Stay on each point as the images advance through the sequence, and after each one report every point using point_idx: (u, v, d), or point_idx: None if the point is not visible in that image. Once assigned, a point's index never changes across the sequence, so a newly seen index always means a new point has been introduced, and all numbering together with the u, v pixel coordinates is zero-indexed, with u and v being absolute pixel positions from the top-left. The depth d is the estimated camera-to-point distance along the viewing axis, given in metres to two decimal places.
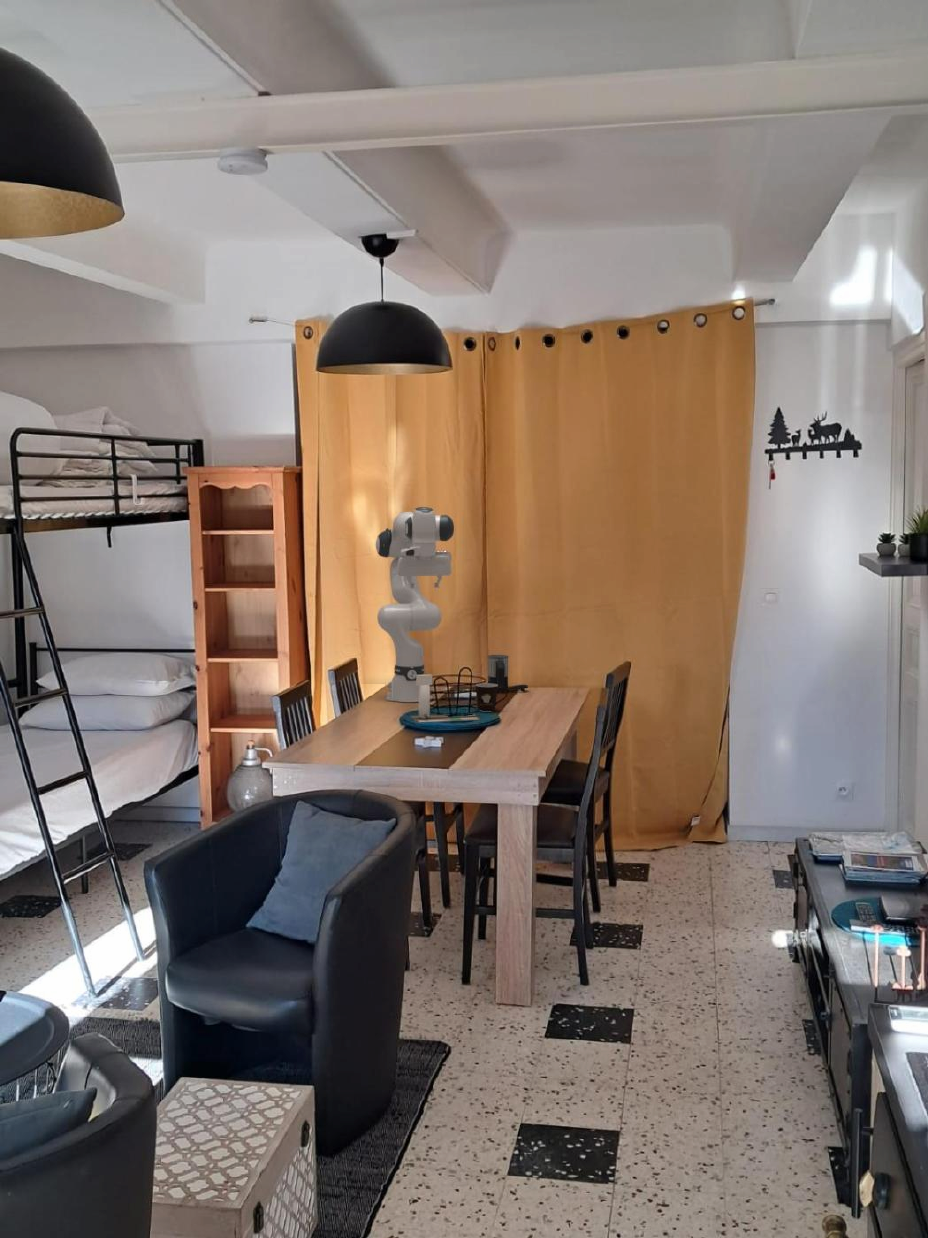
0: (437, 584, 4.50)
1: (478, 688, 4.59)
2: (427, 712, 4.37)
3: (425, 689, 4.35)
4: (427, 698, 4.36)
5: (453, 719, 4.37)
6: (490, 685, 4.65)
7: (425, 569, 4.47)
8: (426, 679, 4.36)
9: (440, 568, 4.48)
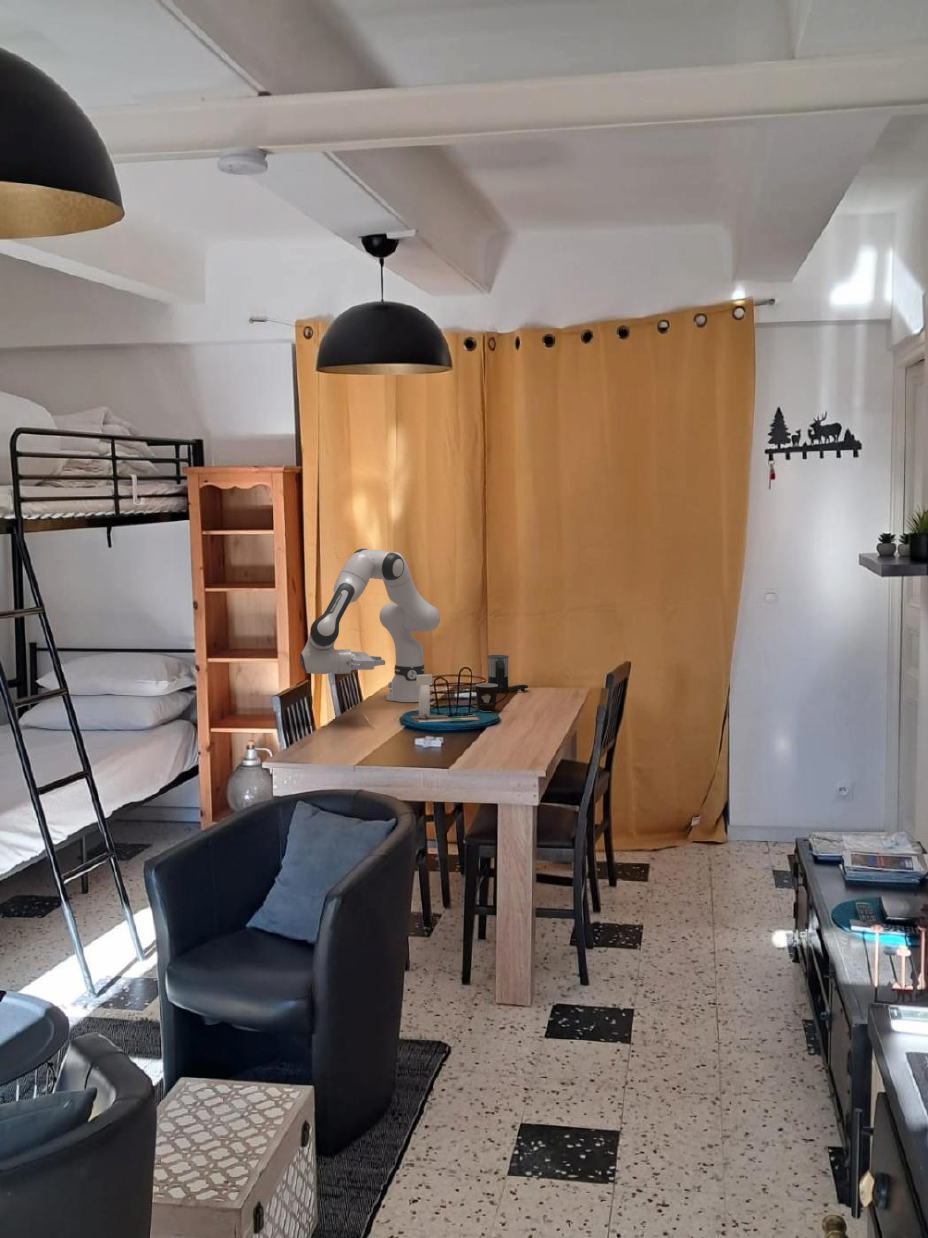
0: None
1: (478, 688, 4.59)
2: (427, 712, 4.37)
3: (425, 689, 4.35)
4: (427, 698, 4.36)
5: (453, 719, 4.37)
6: (490, 685, 4.65)
7: None
8: (426, 679, 4.36)
9: None
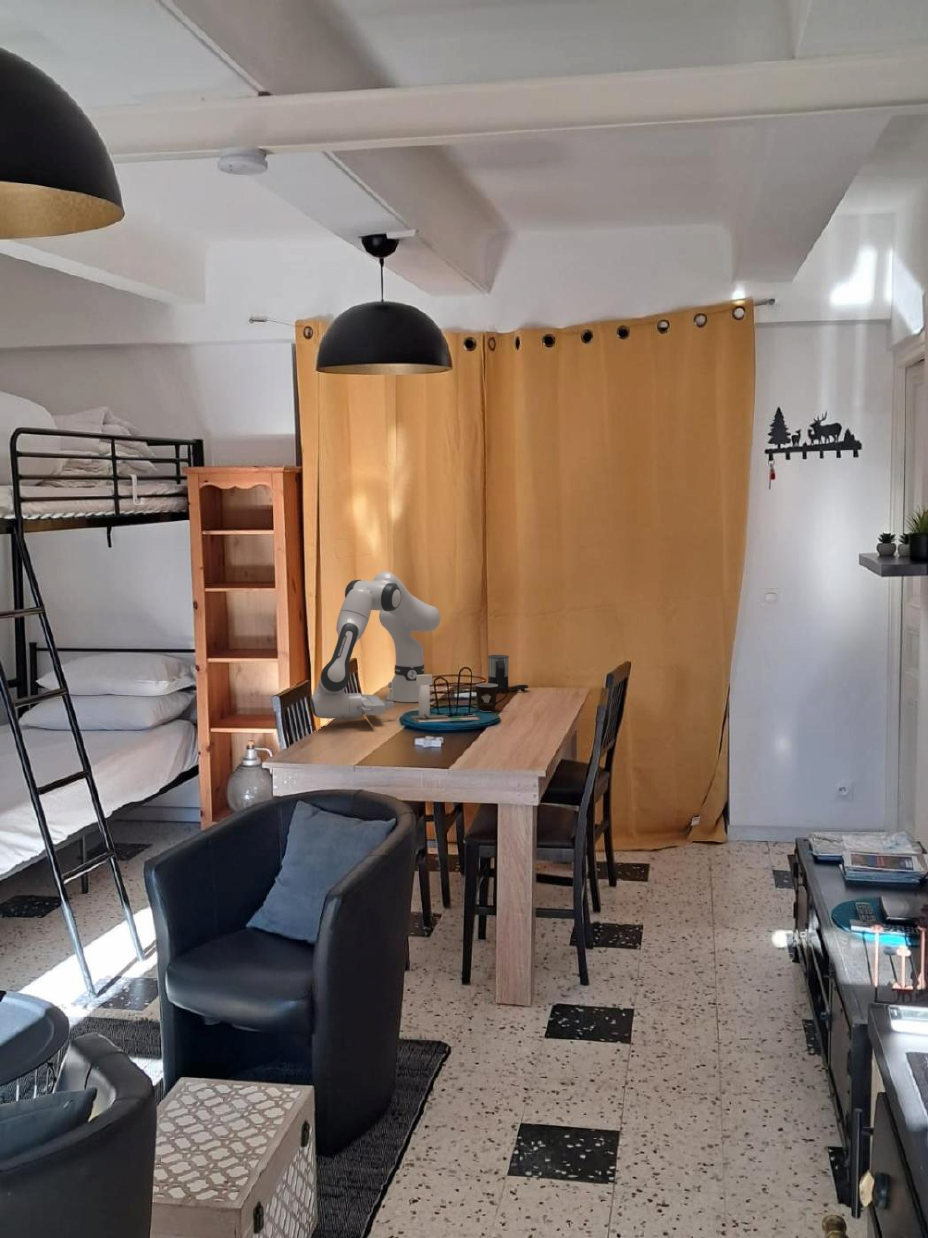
0: None
1: (478, 688, 4.59)
2: (427, 712, 4.37)
3: (425, 689, 4.35)
4: (427, 698, 4.36)
5: (453, 719, 4.37)
6: (490, 685, 4.65)
7: None
8: (426, 679, 4.36)
9: None
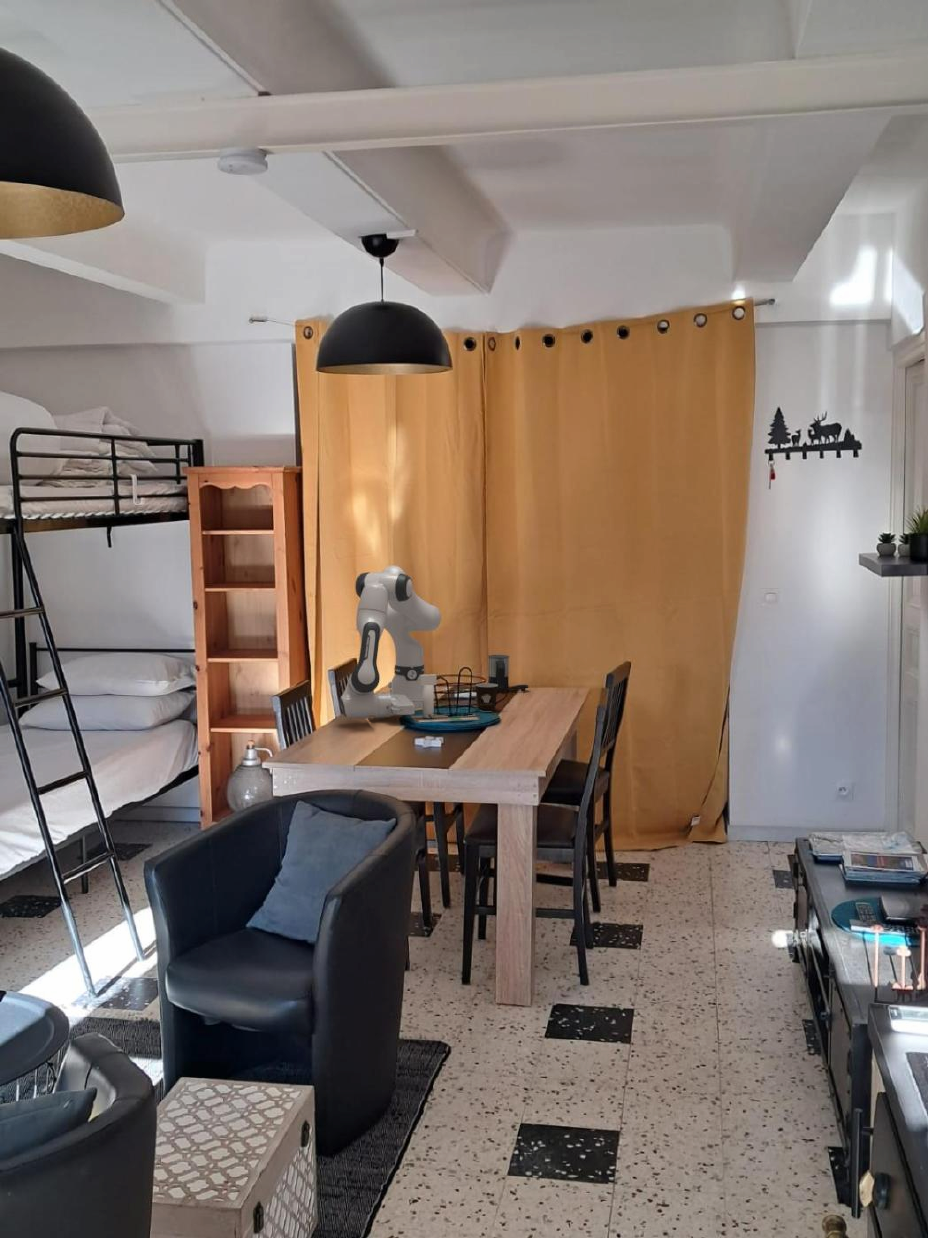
0: None
1: (478, 688, 4.59)
2: (431, 712, 4.37)
3: (429, 689, 4.36)
4: (431, 698, 4.37)
5: (453, 719, 4.37)
6: (490, 685, 4.65)
7: None
8: (430, 679, 4.37)
9: None
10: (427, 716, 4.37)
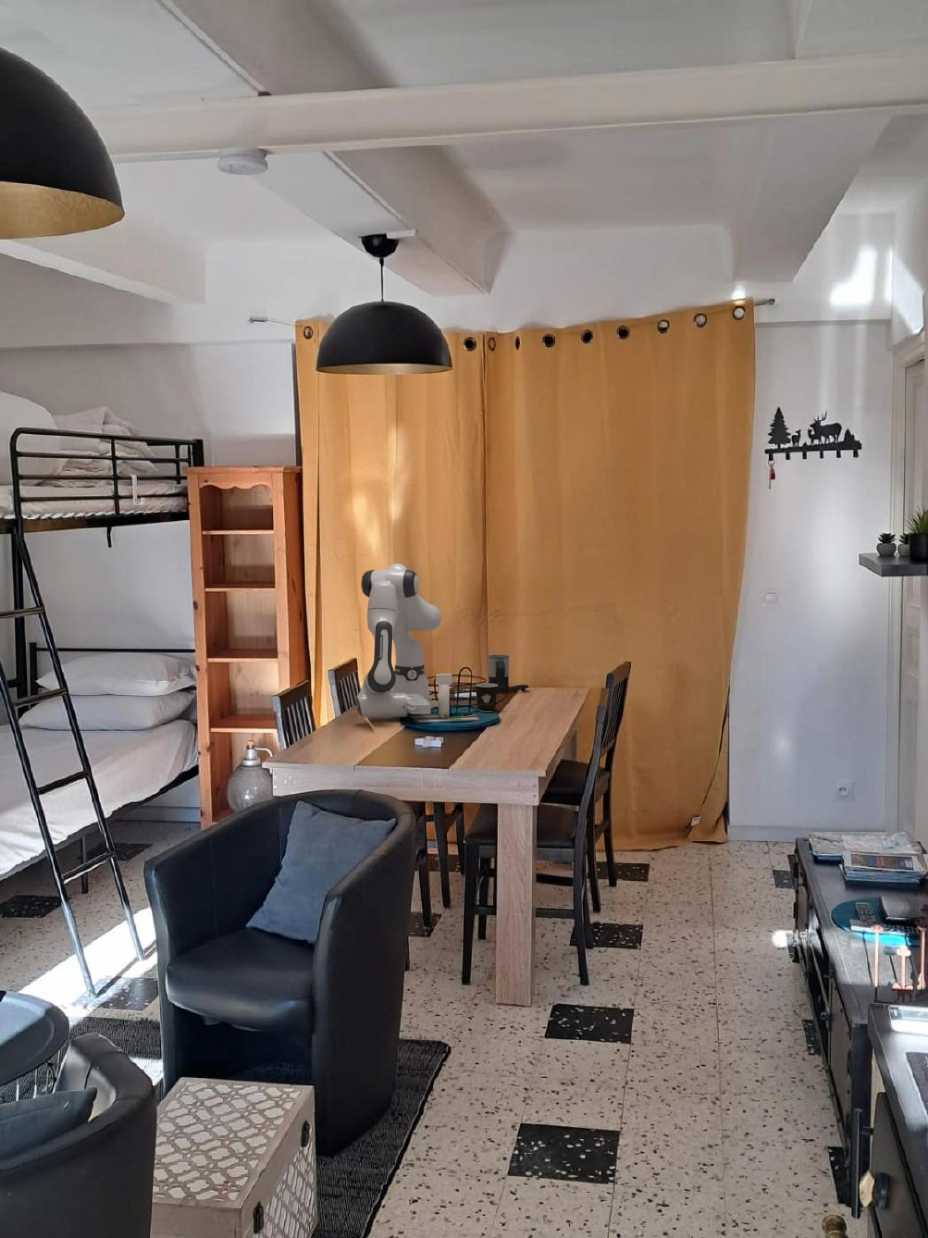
0: None
1: (478, 688, 4.59)
2: (447, 711, 4.38)
3: (445, 688, 4.37)
4: (447, 697, 4.38)
5: (453, 719, 4.37)
6: (490, 685, 4.65)
7: None
8: (446, 678, 4.38)
9: None
10: (443, 715, 4.38)
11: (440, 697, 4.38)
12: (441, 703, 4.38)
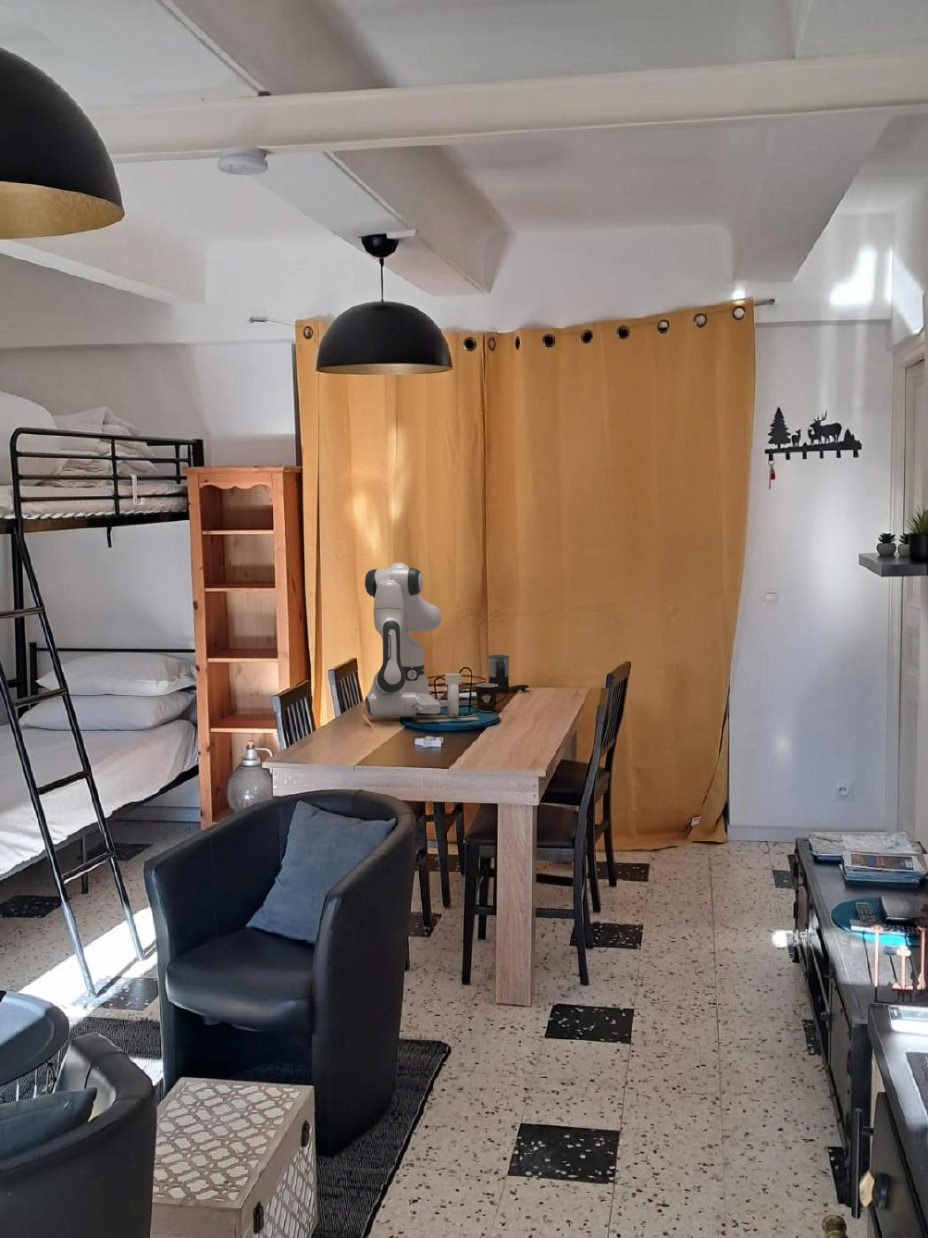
0: None
1: (478, 688, 4.59)
2: (456, 711, 4.39)
3: (454, 688, 4.38)
4: (456, 697, 4.39)
5: (453, 719, 4.37)
6: (490, 685, 4.65)
7: None
8: (455, 678, 4.39)
9: None
10: (452, 715, 4.39)
11: (449, 697, 4.39)
12: (450, 703, 4.39)
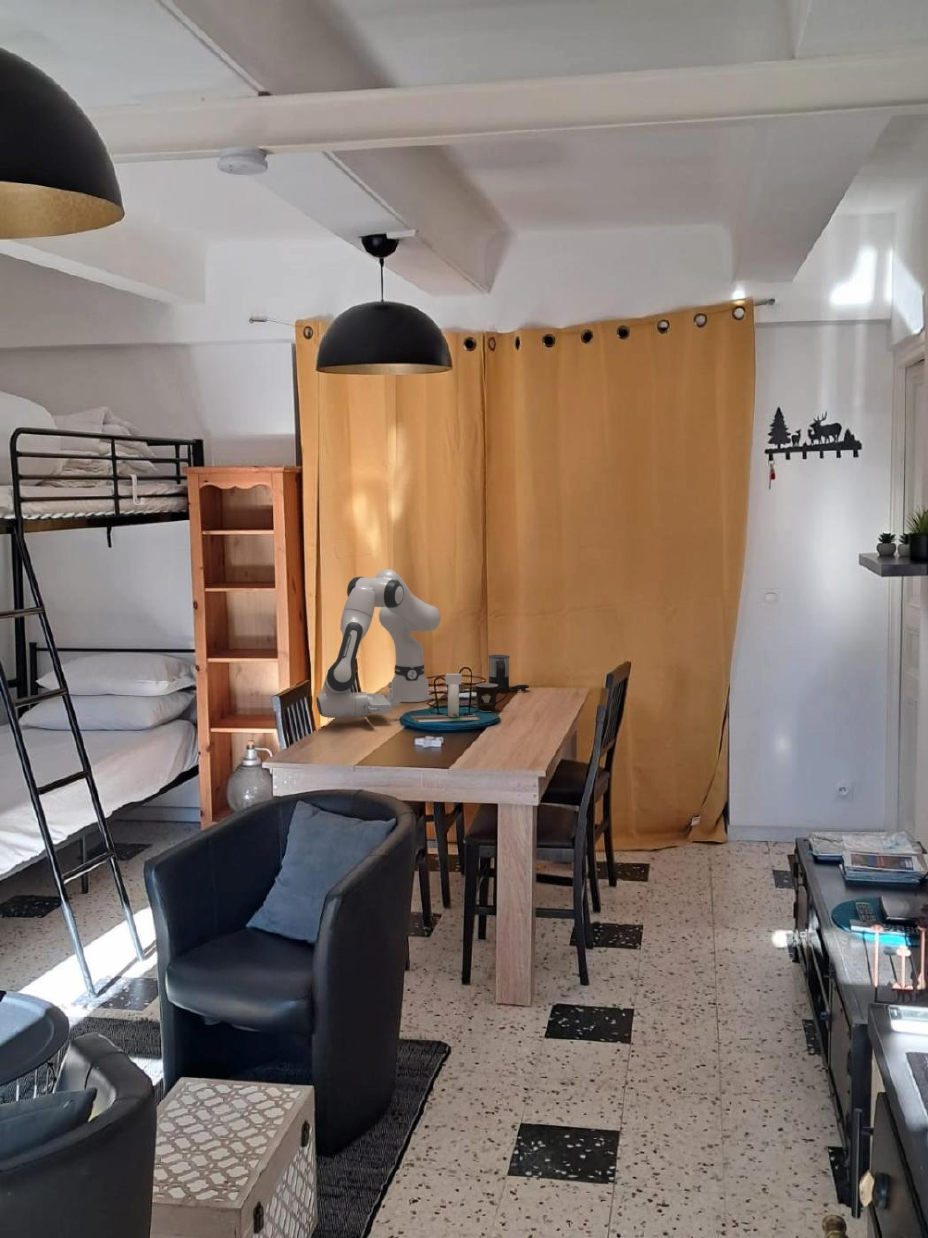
0: None
1: (478, 688, 4.59)
2: (456, 711, 4.39)
3: (454, 688, 4.38)
4: (456, 697, 4.39)
5: (453, 719, 4.37)
6: (490, 685, 4.65)
7: None
8: (455, 678, 4.39)
9: None
10: (452, 715, 4.39)
11: (450, 697, 4.39)
12: (451, 703, 4.39)
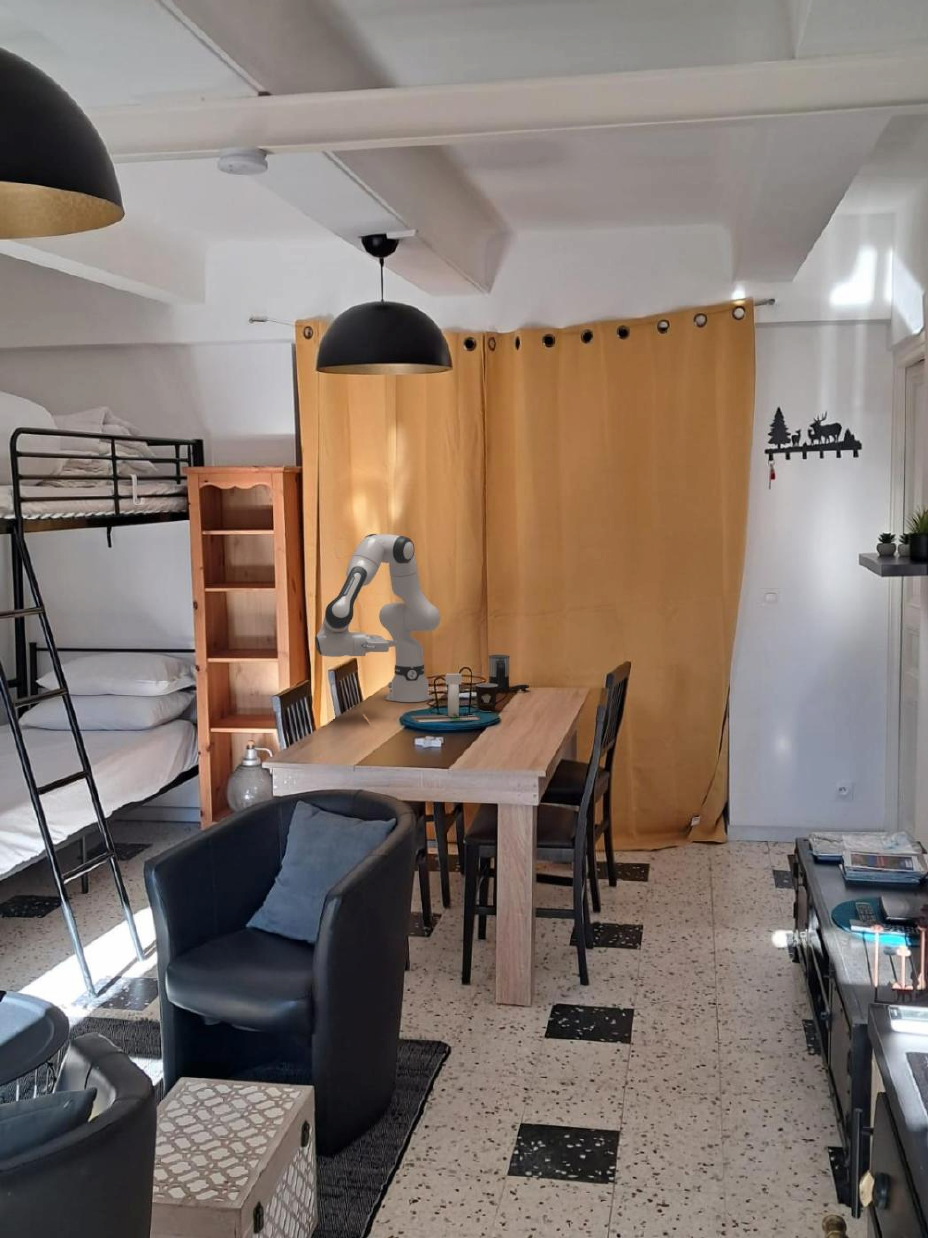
0: None
1: (478, 688, 4.59)
2: (456, 711, 4.39)
3: (454, 688, 4.38)
4: (456, 697, 4.39)
5: (453, 719, 4.37)
6: (490, 685, 4.65)
7: None
8: (455, 678, 4.39)
9: None
10: (452, 715, 4.39)
11: (450, 697, 4.39)
12: (451, 703, 4.39)
